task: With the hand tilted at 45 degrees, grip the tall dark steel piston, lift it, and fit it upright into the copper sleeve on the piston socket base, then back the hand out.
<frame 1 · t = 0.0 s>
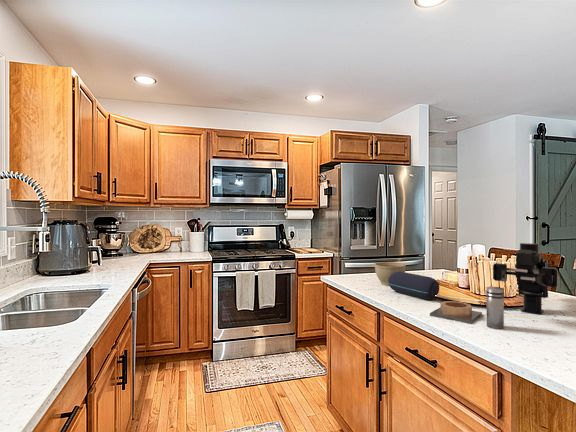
hand: (519, 277, 115), 17 cm above the counter, tool horizontal, fingers open, 9 cm apart
piston socket base: (455, 315, 130), on the counter
portable speaker: (413, 296, 161), on the counter
planter bowl: (389, 284, 187), on the counter
steel piston: (495, 326, 116), on the counter
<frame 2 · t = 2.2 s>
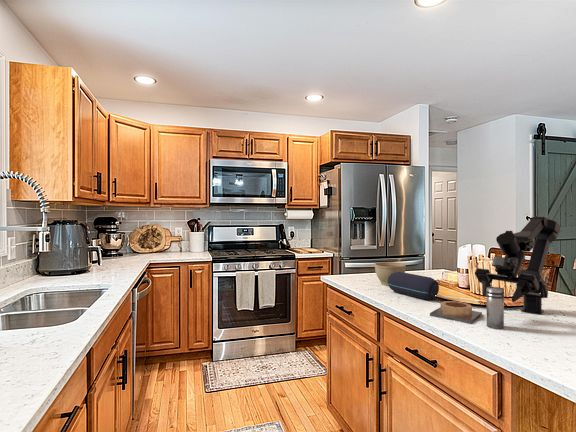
hand: (497, 298, 117), 9 cm above the counter, tool tilted 45°, fingers open, 9 cm apart
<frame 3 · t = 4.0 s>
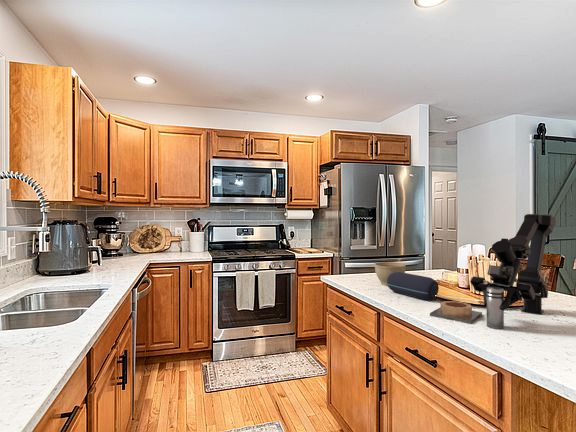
hand: (493, 308, 115), 7 cm above the counter, tool tilted 45°, fingers closed on steel piston, 5 cm apart
steel piston: (495, 326, 116), on the counter, touching gripper
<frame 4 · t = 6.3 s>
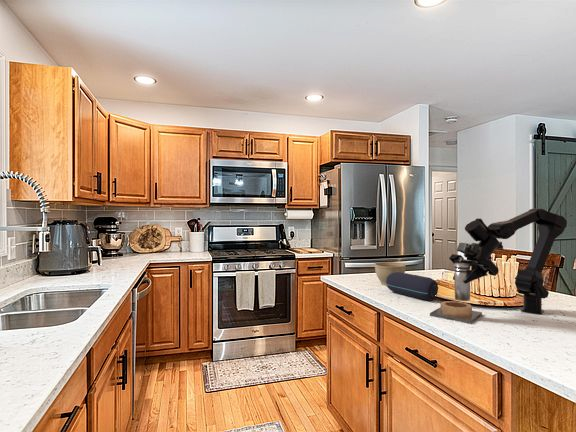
hand: (459, 281, 126), 13 cm above the counter, tool tilted 45°, fingers closed on steel piston, 5 cm apart
steel piston: (462, 299, 127), point 7 cm above the counter, touching gripper
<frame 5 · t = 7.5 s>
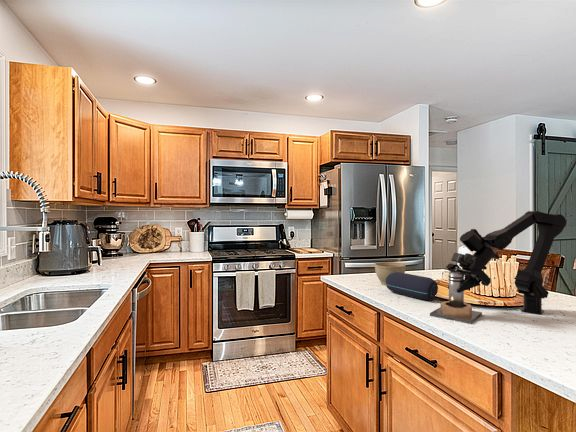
hand: (452, 290, 129), 9 cm above the counter, tool tilted 45°, fingers closed on steel piston, 5 cm apart
steel piston: (456, 307, 130), point 3 cm above the counter, touching gripper
when the fingers open (8 cm above the counter, at t = 8.5 s): steel piston stays where it is, resting on piston socket base.
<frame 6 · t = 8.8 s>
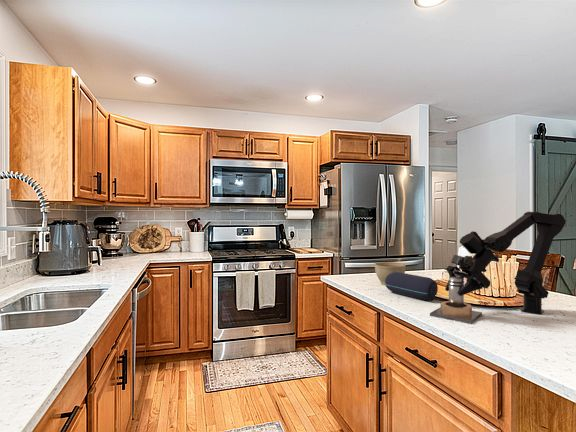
hand: (452, 292, 129), 9 cm above the counter, tool tilted 45°, fingers open, 8 cm apart
steel piston: (456, 312, 130), point 1 cm above the counter, touching piston socket base
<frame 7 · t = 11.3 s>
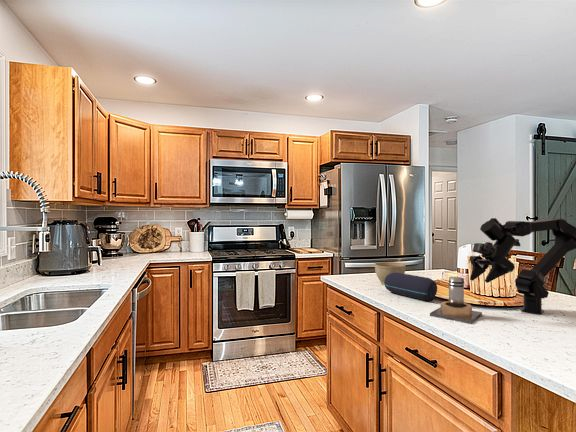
hand: (478, 280, 130), 13 cm above the counter, tool tilted 40°, fingers open, 9 cm apart
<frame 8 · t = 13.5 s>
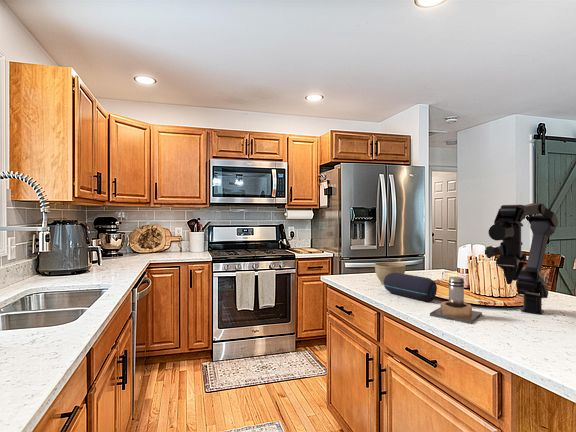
hand: (511, 282, 126), 13 cm above the counter, tool pointing down, fingers open, 9 cm apart
at the end: steel piston 0.1 cm off-centre on the piston socket base, point 1.0 cm above the piston socket base's base; steel piston tilted 0°; the gripper is holding nothing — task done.
